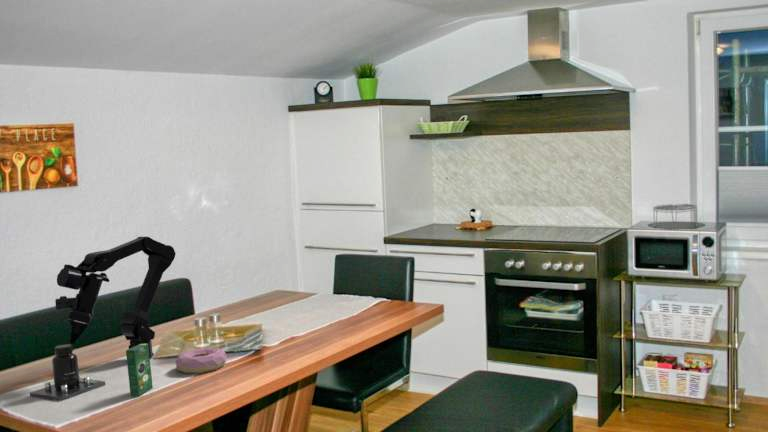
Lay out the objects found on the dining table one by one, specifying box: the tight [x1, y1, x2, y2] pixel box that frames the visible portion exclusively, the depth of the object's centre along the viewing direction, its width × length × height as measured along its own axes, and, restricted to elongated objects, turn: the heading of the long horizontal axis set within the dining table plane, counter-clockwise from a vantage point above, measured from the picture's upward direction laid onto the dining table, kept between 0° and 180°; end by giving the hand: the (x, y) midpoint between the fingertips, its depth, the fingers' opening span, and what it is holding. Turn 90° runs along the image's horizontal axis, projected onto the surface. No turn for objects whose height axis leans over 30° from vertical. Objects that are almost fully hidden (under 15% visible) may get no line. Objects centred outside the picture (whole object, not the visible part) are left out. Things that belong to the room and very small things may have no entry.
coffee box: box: [125, 344, 154, 398], centre depth 222 cm, size 8×3×13 cm, turn 168°
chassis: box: [29, 376, 106, 402], centre depth 230 cm, size 15×14×3 cm
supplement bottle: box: [51, 343, 80, 390], centre depth 230 cm, size 7×7×12 cm
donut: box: [175, 347, 228, 374], centre depth 243 cm, size 16×15×5 cm
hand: (72, 341), depth 244 cm, fingers open, 9 cm apart
